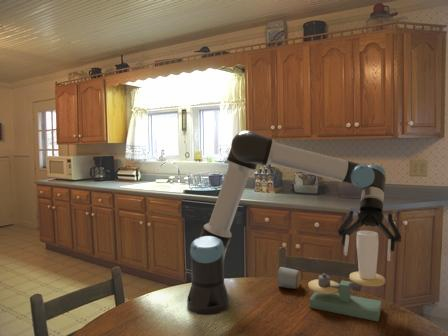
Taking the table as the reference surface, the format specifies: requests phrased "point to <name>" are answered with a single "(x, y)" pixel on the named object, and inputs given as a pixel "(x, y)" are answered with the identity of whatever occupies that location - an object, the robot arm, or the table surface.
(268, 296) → the table surface
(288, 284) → the ceramic mug
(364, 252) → the white cup
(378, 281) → the balance
